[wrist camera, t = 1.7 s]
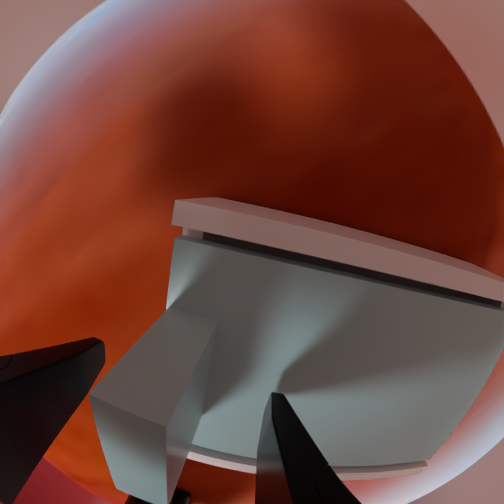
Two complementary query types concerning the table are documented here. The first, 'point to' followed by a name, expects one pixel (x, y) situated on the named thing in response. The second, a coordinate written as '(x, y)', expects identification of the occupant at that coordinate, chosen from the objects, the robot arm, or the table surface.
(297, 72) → the table surface
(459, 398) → the lid
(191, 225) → the parts tub
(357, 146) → the table surface
